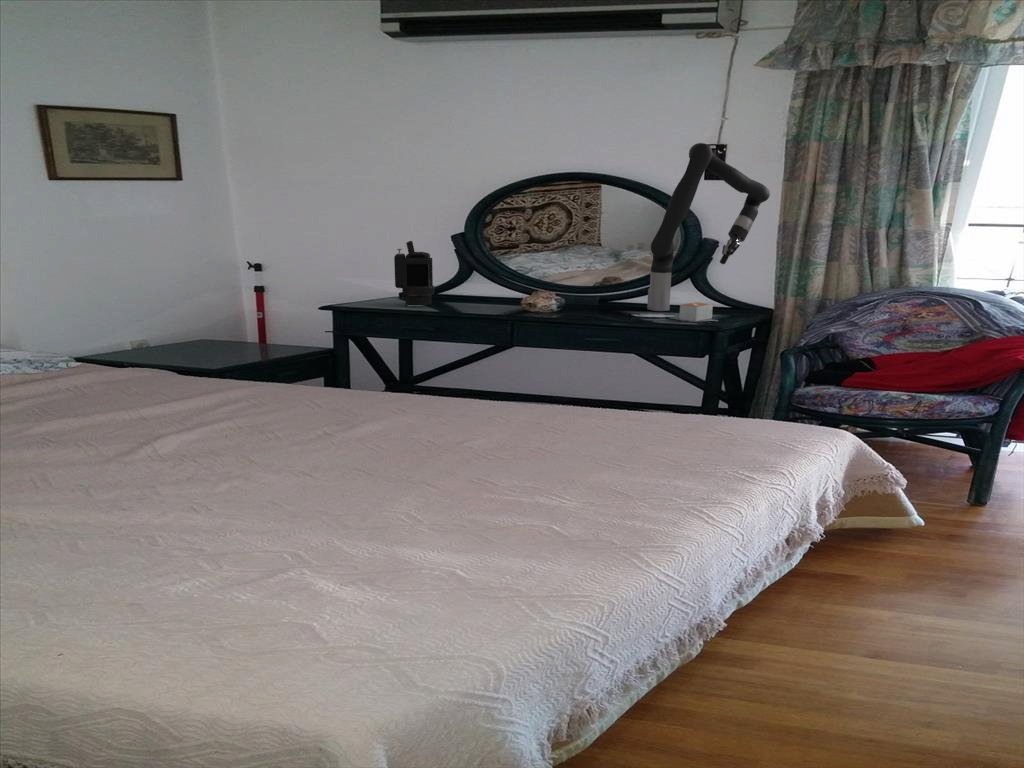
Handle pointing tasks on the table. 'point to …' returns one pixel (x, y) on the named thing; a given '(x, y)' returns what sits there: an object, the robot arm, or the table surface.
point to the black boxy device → (414, 276)
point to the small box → (695, 311)
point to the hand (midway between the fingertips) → (722, 263)
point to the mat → (696, 321)
